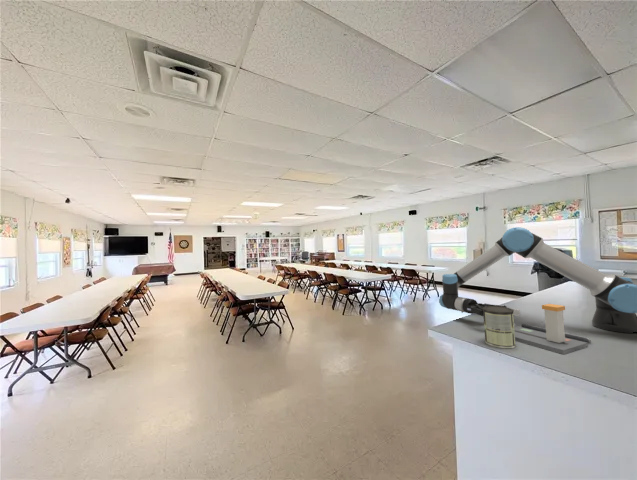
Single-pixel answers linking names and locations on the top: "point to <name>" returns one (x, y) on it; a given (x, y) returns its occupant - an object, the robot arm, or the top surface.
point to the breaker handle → (554, 322)
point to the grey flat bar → (565, 333)
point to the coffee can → (499, 326)
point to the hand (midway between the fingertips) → (511, 314)
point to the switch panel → (547, 341)
